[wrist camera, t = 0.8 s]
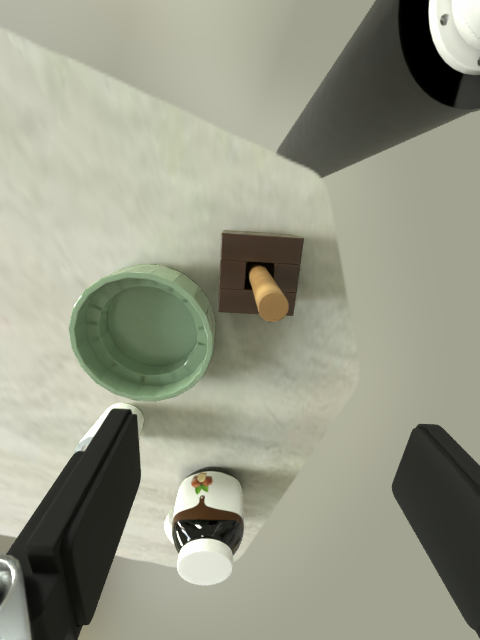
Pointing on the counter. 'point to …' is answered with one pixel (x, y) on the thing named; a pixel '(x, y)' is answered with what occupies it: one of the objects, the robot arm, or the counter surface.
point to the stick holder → (257, 247)
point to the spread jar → (207, 525)
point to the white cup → (94, 429)
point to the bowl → (143, 332)
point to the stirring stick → (267, 293)
